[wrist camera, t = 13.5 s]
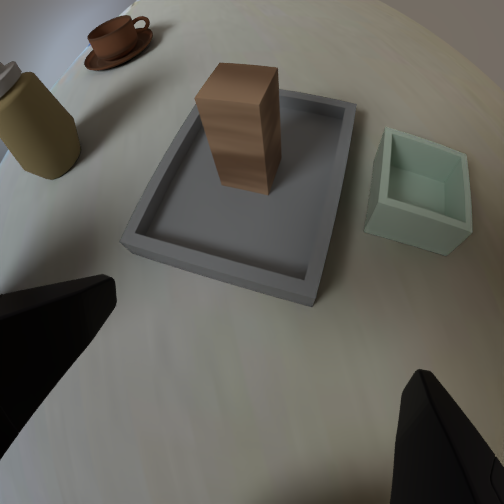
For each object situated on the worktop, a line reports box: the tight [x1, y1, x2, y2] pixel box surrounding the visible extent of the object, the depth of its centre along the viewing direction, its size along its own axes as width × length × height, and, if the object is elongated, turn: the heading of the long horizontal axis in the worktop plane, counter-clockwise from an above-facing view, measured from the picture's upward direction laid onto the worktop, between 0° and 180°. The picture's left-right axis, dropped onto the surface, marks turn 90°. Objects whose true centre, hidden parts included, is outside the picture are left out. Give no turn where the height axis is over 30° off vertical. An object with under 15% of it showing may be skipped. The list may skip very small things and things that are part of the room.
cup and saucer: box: [84, 15, 153, 71], centre depth 36 cm, size 12×12×6 cm
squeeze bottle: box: [0, 61, 81, 180], centre depth 22 cm, size 8×8×18 cm
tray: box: [119, 89, 357, 307], centre depth 25 cm, size 19×15×2 cm
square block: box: [195, 63, 282, 195], centre depth 21 cm, size 4×4×10 cm
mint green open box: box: [364, 127, 473, 256], centre depth 22 cm, size 8×8×4 cm
